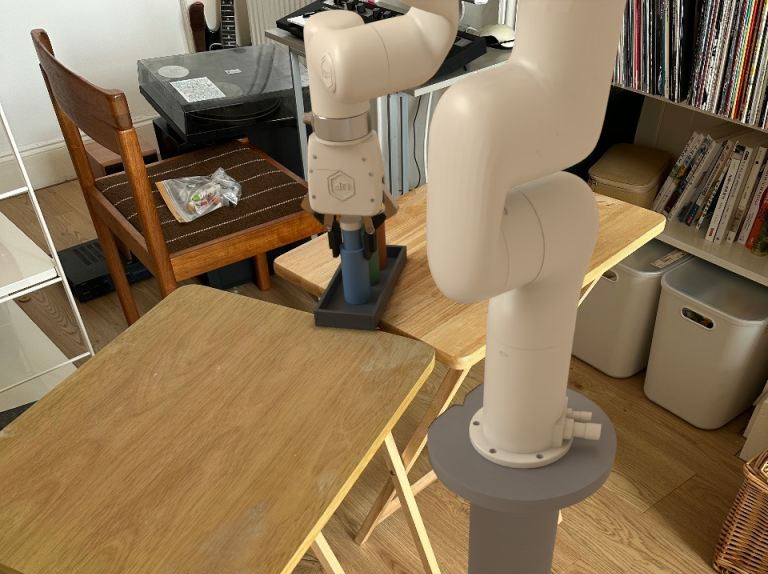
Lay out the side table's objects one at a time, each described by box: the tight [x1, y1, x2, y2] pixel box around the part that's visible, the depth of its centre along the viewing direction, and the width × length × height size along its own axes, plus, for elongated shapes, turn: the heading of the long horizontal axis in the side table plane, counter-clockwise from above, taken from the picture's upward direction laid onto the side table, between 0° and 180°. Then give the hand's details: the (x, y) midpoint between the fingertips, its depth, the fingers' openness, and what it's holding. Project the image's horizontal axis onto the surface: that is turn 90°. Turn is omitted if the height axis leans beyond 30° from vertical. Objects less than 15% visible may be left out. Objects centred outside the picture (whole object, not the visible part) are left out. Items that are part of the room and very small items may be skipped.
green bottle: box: [361, 216, 380, 286], centre depth 120 cm, size 4×4×12 cm
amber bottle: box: [377, 209, 387, 270], centre depth 123 cm, size 4×4×12 cm
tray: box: [312, 243, 408, 332], centre depth 122 cm, size 9×21×2 cm, turn 166°
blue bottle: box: [339, 215, 371, 305], centre depth 116 cm, size 4×4×12 cm
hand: (353, 253), depth 116 cm, fingers open, 4 cm apart
